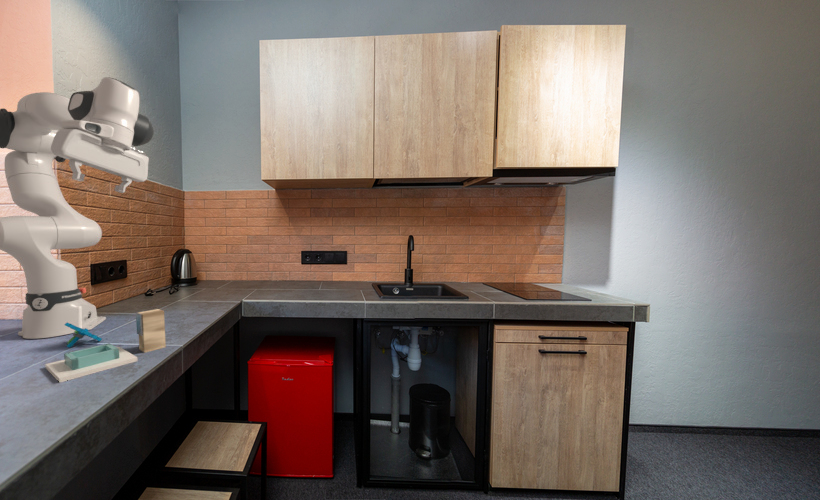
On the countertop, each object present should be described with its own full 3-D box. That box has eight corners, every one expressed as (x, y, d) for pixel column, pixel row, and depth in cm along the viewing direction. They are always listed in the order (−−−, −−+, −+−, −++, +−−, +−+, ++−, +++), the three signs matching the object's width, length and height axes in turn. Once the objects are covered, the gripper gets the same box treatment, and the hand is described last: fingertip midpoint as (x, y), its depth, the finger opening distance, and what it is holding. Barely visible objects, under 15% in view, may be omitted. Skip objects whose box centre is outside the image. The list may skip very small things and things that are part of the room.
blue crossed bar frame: (107, 338, 95) (71, 321, 89) (89, 356, 91) (51, 339, 86) (99, 336, 101) (65, 319, 96) (82, 353, 98) (45, 337, 92)
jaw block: (137, 350, 90) (135, 313, 89) (160, 344, 95) (158, 308, 94) (142, 353, 88) (140, 315, 87) (165, 347, 93) (164, 310, 92)
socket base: (45, 367, 78) (44, 354, 78) (119, 349, 90) (118, 338, 90) (59, 382, 71) (58, 367, 71) (137, 360, 83) (136, 348, 83)
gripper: (141, 154, 95) (132, 197, 94) (53, 117, 76) (40, 172, 74) (157, 154, 94) (148, 198, 92) (72, 117, 74) (59, 172, 73)
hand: (99, 186), depth 83 cm, fingers open, 8 cm apart
